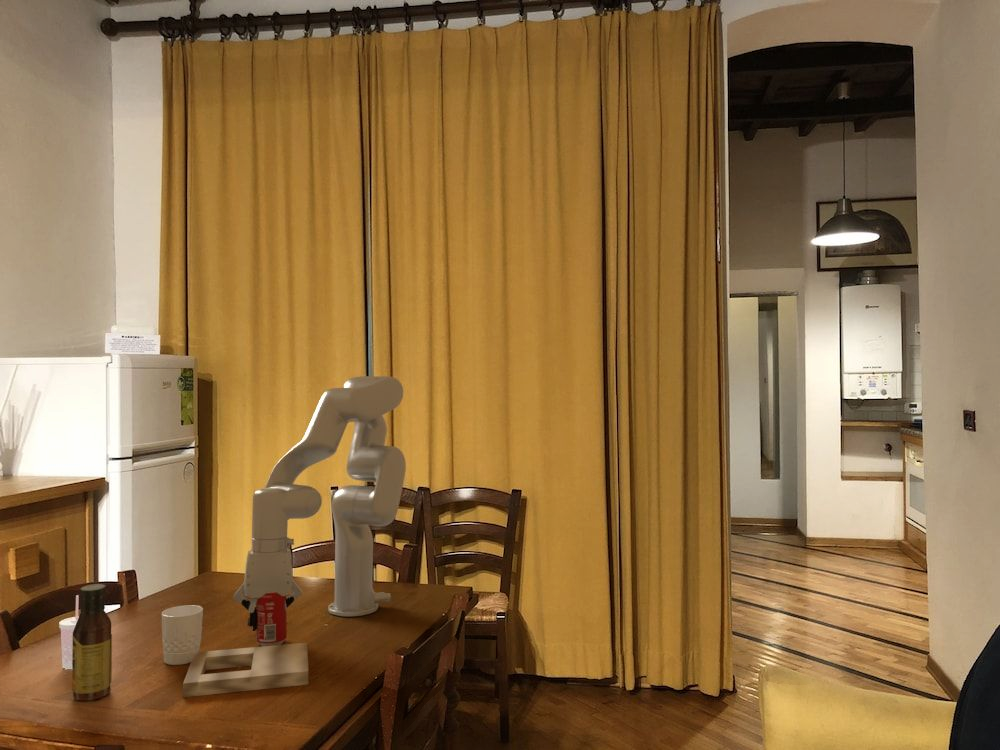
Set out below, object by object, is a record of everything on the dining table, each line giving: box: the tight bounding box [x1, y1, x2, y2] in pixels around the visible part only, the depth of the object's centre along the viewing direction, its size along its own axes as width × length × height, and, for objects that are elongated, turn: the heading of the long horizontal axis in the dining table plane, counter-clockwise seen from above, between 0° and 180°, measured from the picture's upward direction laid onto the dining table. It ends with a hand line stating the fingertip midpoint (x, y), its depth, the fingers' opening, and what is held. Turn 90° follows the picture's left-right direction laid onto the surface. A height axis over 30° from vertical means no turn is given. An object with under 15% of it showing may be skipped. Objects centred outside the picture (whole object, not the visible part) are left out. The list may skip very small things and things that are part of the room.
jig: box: [182, 642, 309, 698], centre depth 139 cm, size 22×16×2 cm
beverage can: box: [255, 591, 288, 647], centre depth 156 cm, size 6×6×12 cm
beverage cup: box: [58, 594, 80, 670], centre depth 143 cm, size 6×6×14 cm
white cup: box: [161, 604, 204, 666], centre depth 147 cm, size 8×8×10 cm
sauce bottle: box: [71, 583, 113, 702], centre depth 129 cm, size 6×6×20 cm
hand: (267, 627), depth 156 cm, fingers closed on beverage can, 4 cm apart
